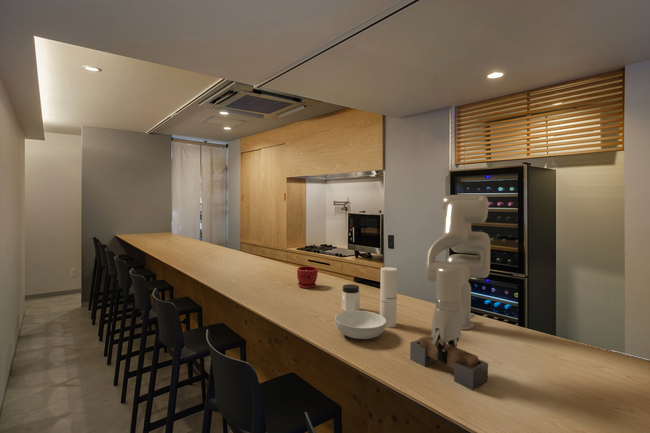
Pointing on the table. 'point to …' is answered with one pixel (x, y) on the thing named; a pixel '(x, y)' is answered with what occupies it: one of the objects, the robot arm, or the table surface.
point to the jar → (350, 298)
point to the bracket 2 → (471, 374)
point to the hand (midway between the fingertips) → (446, 359)
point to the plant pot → (307, 276)
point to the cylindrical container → (388, 295)
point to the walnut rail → (449, 353)
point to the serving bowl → (360, 324)
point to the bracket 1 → (420, 354)
